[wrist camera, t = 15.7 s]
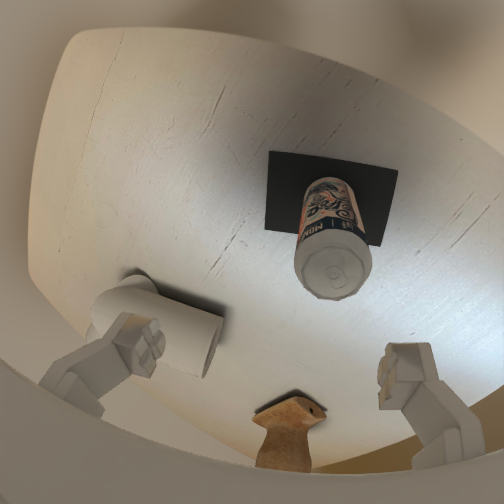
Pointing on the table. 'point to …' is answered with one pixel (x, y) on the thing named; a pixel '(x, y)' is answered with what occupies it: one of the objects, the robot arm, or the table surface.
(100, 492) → the robot arm
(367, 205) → the mat
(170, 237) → the table surface
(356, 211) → the beer can
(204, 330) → the l-shaped cylinder
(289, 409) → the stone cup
